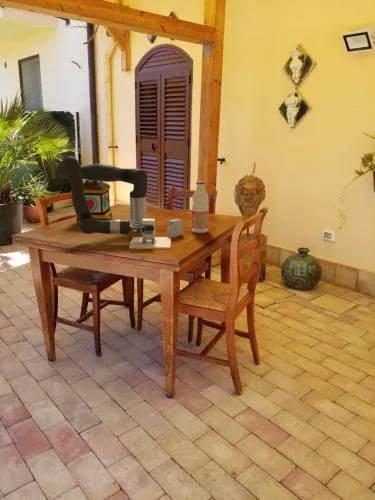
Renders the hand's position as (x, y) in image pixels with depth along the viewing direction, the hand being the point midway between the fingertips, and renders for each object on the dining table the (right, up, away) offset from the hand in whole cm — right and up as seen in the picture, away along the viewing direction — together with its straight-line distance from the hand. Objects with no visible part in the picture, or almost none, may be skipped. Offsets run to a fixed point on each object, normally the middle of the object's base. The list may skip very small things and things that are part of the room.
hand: (154, 227), depth 206 cm
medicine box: (+10, -4, +17) cm, 20 cm away
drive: (-3, -6, +2) cm, 7 cm away
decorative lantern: (-41, +7, +49) cm, 64 cm away
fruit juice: (+24, -1, +27) cm, 36 cm away
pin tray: (-2, -8, +2) cm, 9 cm away
